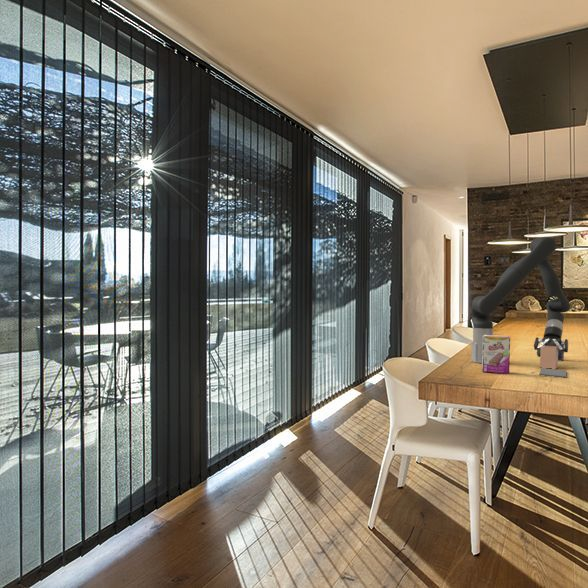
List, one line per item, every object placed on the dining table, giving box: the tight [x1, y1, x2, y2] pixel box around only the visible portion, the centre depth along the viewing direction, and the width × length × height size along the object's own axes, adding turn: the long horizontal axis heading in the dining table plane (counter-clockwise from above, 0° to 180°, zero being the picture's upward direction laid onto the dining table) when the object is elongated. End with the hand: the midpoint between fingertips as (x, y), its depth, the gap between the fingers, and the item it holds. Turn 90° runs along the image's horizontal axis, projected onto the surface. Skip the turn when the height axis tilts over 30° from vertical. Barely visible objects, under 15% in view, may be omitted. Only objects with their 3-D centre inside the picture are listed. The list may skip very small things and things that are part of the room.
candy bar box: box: [481, 334, 511, 375], centre depth 212 cm, size 11×5×16 cm, turn 71°
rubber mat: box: [538, 368, 567, 379], centre depth 210 cm, size 16×10×1 cm, turn 150°
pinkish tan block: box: [539, 345, 559, 370], centre depth 225 cm, size 6×6×10 cm
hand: (549, 356), depth 225 cm, fingers open, 8 cm apart
